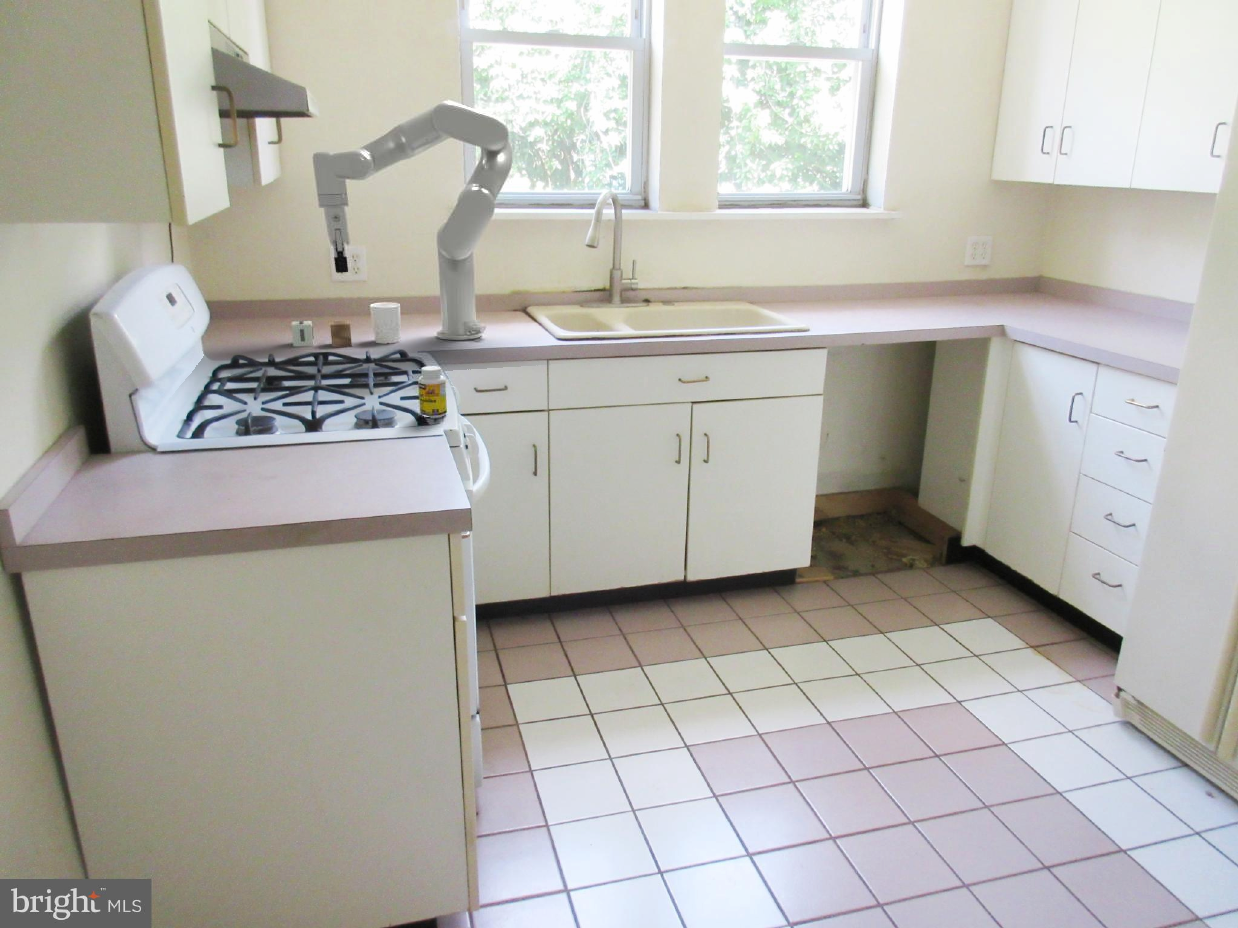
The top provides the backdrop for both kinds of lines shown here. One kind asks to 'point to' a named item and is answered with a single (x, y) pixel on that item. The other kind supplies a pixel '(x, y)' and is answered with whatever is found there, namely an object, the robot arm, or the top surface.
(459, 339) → the robot arm
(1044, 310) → the top surface
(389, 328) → the white cup
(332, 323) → the walnut block
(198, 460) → the top surface
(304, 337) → the marked block
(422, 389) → the supplement bottle
